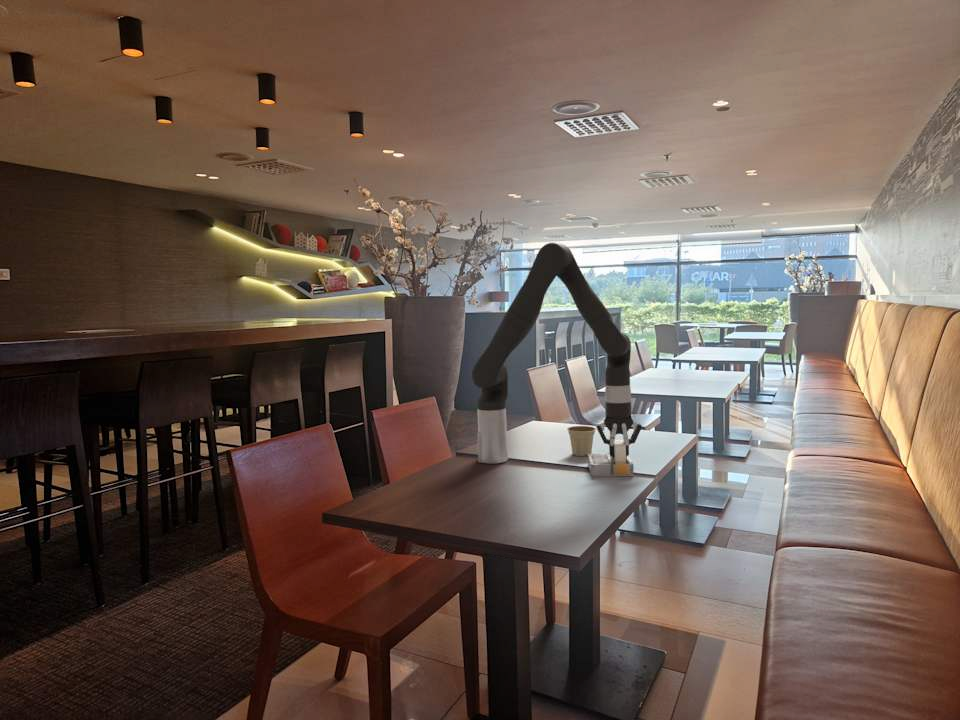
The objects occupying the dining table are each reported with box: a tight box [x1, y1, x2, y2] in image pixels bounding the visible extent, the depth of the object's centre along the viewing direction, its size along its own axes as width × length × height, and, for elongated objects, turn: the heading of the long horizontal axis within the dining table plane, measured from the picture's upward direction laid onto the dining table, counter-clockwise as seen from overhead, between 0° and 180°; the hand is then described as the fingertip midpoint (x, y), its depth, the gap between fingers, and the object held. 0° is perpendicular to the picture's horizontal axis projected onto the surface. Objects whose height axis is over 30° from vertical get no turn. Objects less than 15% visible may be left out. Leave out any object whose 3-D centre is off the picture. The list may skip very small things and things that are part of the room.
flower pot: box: [567, 425, 597, 457], centre depth 207 cm, size 9×9×9 cm
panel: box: [613, 439, 626, 464], centre depth 186 cm, size 3×8×7 cm, turn 174°
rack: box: [587, 453, 634, 478], centre depth 186 cm, size 12×13×4 cm
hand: (619, 457), depth 186 cm, fingers closed on panel, 3 cm apart
